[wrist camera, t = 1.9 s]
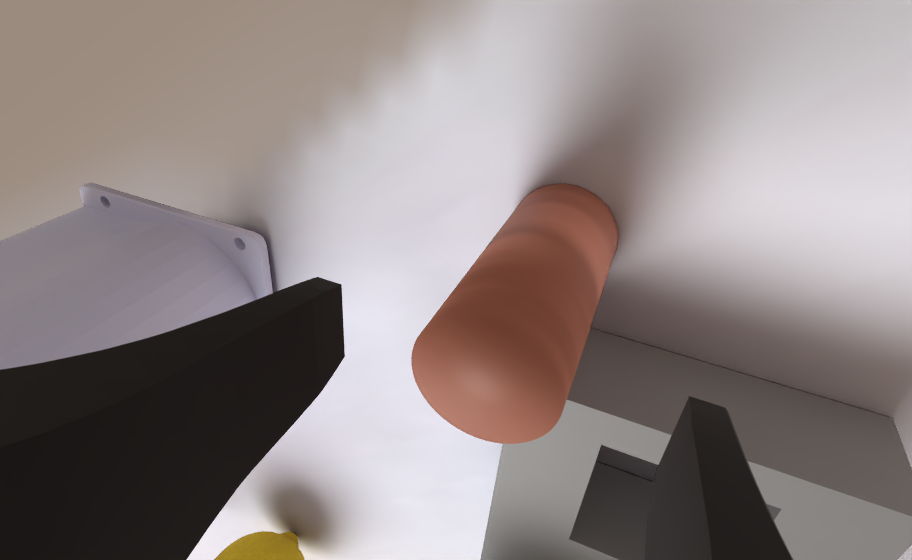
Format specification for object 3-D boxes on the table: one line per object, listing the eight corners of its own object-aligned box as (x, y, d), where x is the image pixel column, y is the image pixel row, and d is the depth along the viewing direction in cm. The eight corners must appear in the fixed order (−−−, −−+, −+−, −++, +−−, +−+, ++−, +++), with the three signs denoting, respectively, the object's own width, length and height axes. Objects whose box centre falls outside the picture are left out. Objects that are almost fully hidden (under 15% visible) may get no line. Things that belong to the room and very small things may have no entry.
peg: (505, 265, 18) (408, 411, 12) (519, 173, 16) (414, 294, 10) (603, 292, 17) (548, 464, 11) (630, 197, 15) (580, 346, 9)
